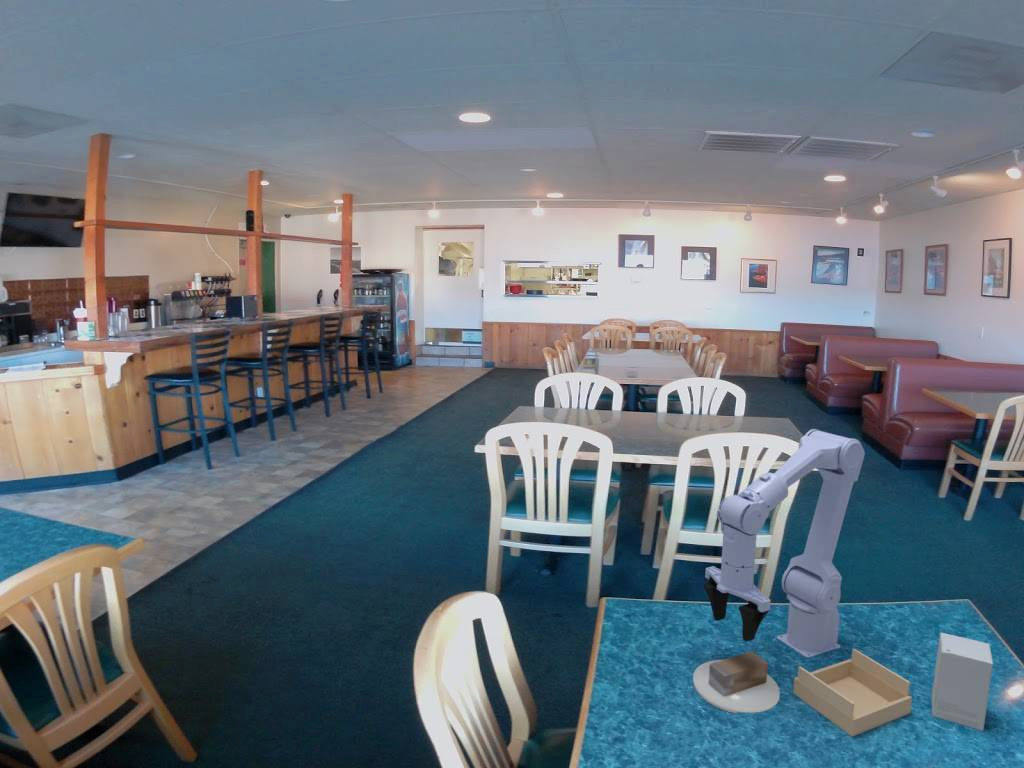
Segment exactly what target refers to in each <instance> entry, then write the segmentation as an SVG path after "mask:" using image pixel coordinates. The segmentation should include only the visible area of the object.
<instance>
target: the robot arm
mask: <svg viewBox="0 0 1024 768" xmlns="http://www.w3.org/2000/svg"><path fill="white" fill-rule="evenodd" d="M865 454H866V452H865V450H864V448H863V445H862V443H861V441H860V440H858V439H856V438H849V437H846V436H843V435H837V434H834V433H829V432H826V431H821V430H820V429H817V428H812V429H809V430H808V431H807V432H806V433H805V434H804V435H802V437H800V439H799V443H798V449H797V450H796V451H795V452H794V453H793V454H792V455H791V456H790V457H789V458H788V459H787V460H786V461H784V463H783V464H782V465H781V466H780V467H779V468H778V469H777V470H776V471H775V472H773V473H772V472H765V473H762V474H761V475H760V476H759V477H758V478H757V479H756V480H754V481H753V482H752V483H750V484H748V486H746V487H745V488H744V489H743V490H742V491H741V492H739V493H738V494H732V495H729V496H726V497H724V498H723V499H722V501H721V502H720V504H719V507H718V510H716V517H717V519H718V521H719V523H720V531H721V533H722V546H721V547H722V549H721V567H720V568H719V567H718V568H717V567H716V566H714V565H713V566H709V567H706V568H705V573H704V574H705V576H704V577H705V578H706V579H707V580H708V582H704V583H703V586H702V587H703V589H704V591H705V592H706V595H707V598H708V600H709V602H710V603H709V604H710V607H711V611H712V615H713V619H714V621H716V622H718V621H721V620H722V621H723V620H725V617H726V615H727V607H728V600H729V596H730V595H734V596H736V597H739V598H742V599H743V600H745V601H746V602H748V603H746V604H743V605H739V606H738V610H739V613H740V615H741V622H742V629H741V630H742V631H741V632H742V634H741V635H742V640H743V641H745V642H746V643H747V642H749V641H753V640H755V637H756V634H757V632H758V630H759V627H760V625H761V623H762V621H763V620H764V618H765V617H766V615H767V614H769V612H770V611H771V599H770V598H768V597H767V596H765V595H764V594H763V593H762V591H761V590H760V589H759V588H758V587H757V586H756V585H755V584H754V580H755V579H754V578H755V577H754V576H755V564H756V563H755V560H756V551H757V550H756V548H757V534H758V532H761V530H762V529H763V527H764V525H765V523H766V520H767V519H768V518H769V516H770V512H771V511H773V509H775V508H776V507H777V506H778V505H779V504H781V503H782V502H783V501H784V500H785V499H787V497H788V495H789V487H791V486H792V485H793V484H795V483H796V482H798V481H799V480H801V479H802V478H804V477H805V476H807V475H808V474H809V473H811V472H812V471H814V470H815V469H816V470H817V471H818V472H819V474H820V476H821V477H822V479H823V480H822V484H821V489H820V492H819V496H818V500H817V502H816V507H815V511H814V514H813V518H812V520H811V524H810V529H809V533H808V536H807V540H806V544H805V547H804V551H803V553H802V554H800V555H796V556H795V557H792V558H790V560H789V563H788V566H787V569H785V571H784V572H783V575H782V576H781V577H782V578H781V587H782V590H783V592H784V593H786V599H787V600H789V606H788V617H787V618H788V619H787V628H786V633H783V634H781V635H777V636H776V639H777V640H778V641H781V642H782V643H783V644H785V645H786V646H788V647H789V648H792V649H793V650H794V651H796V652H797V653H799V654H800V655H802V656H804V657H806V658H811V657H814V656H817V655H821V654H824V653H827V652H830V651H832V650H833V651H834V650H836V649H840V648H841V645H840V644H838V638H839V637H838V636H839V626H840V614H839V611H838V608H837V606H838V604H839V603H840V600H841V595H842V592H841V584H842V580H843V577H842V575H841V573H840V572H839V571H838V570H837V568H836V566H835V565H834V563H833V558H834V555H835V551H836V548H837V544H838V541H839V540H838V539H839V536H840V532H841V529H842V526H843V521H844V518H845V515H846V511H847V509H848V504H849V500H850V497H851V493H852V489H853V486H854V483H855V482H857V481H858V480H859V475H860V472H861V470H862V465H863V462H864V459H865Z"/></svg>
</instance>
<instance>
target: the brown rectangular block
mask: <svg viewBox="0 0 1024 768" xmlns="http://www.w3.org/2000/svg"><path fill="white" fill-rule="evenodd" d="M721 660H722V661H719V662H715V663H712V664H710V669H709V685H710V686H712V687H713V688H714V689H715V690H716V691H717V692H719V693H720V694H721V695H722V696H723V697H725V696H728V695H731V694H734V693H737V692H740V691H743V690H746V689H749V688H752V687H755V686H758V685H761V684H764V683H766V682H767V674H768V669H769V667H768V666H769V662H767V661H766V660H764V659H763V658H762V657H760V656H759V655H757V654H756V653H755V652H753V651H752V650H751V651H748V652H745V653H742V654H739V655H735V656H732V657H729V658H726V659H721Z"/></svg>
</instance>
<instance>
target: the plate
mask: <svg viewBox="0 0 1024 768" xmlns="http://www.w3.org/2000/svg"><path fill="white" fill-rule="evenodd" d="M722 660H723V659H714V660H709V661H706V662H703V663H702V664H700V665H698V666H697V668H696V669H695V670H694V672H693V675H692V676H693V678H692V682H693V683H692V684H693V687H694V689H695V691H696V692H697V694H698V696H700V697H701V698H702V699H703V700H704V701H705V702H707V703H708V704H709V705H711V706H713V707H715V708H717V709H720V710H722V711H725V712H728V713H731V714H735V715H740V713H745V714H747V713H748V714H752V713H762V712H766V711H768V710H771V709H772V708H774V707H775V706H776V705H777V704H778V703H779V700H780V698H781V695H780V694H781V692H780V688H779V686H778V684H777V682H776V681H775V680H774V679H773V678H772V676H770V675H769V674H768V673H767V682H766V683H764V684H761V685H758V686H755V687H752V688H749V689H746V690H743V691H740V692H737V693H734V694H731V695H728V696H725V697H723V696H722V695H721V694H720V693H719V692H717V691H716V690H715V689H714V688H713V687H712V686H710V685H709V669H710V664H712V663H715V662H719V661H722Z"/></svg>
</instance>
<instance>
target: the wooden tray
mask: <svg viewBox="0 0 1024 768" xmlns="http://www.w3.org/2000/svg"><path fill="white" fill-rule="evenodd" d="M793 681H794V682H793V691H792V693H793V694H794V695H795V696H796V697H798V698H799V699H800V700H802V701H803V702H805V704H807V705H808V706H810V707H811V708H812V709H814V710H815V711H817V712H818V713H819V714H821V715H822V716H823V717H824V718H826V719H827V720H829V721H830V722H831V723H833V724H834V725H836V726H837V727H838V728H840V730H842V731H844V732H845V733H847V734H848V735H849V736H850V737H855V736H857V735H859V734H863V733H865V732H868V731H871V730H872V729H875V728H877V727H879V726H882V725H884V724H887V723H890V722H893V721H894V720H897V719H900V718H903V717H904V716H908V715H909V714H911V713H912V712H911V711H912V710H911V709H912V703H913V697H912V696H911V695H910V688H911V687H910V686H911V682H910V681H909V680H907V679H906V678H904V677H902V676H901V675H899V674H897V673H896V672H894V671H892V670H890V669H889V668H888V667H885V666H884V665H882V664H881V663H879V662H877V661H876V660H874V659H872V658H871V657H869V656H867V655H865V654H864V653H862V652H860V651H858V650H857V649H855V648H852V651H851V658H849V659H846V660H844V661H841V662H840V661H839V662H838V663H833V664H831V665H829V666H825V667H823V668H820V669H816V670H814V671H810V672H809V671H808V670H806V669H805V668H804V667H803V666H798V669H797V676H796V677H794V680H793Z"/></svg>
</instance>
